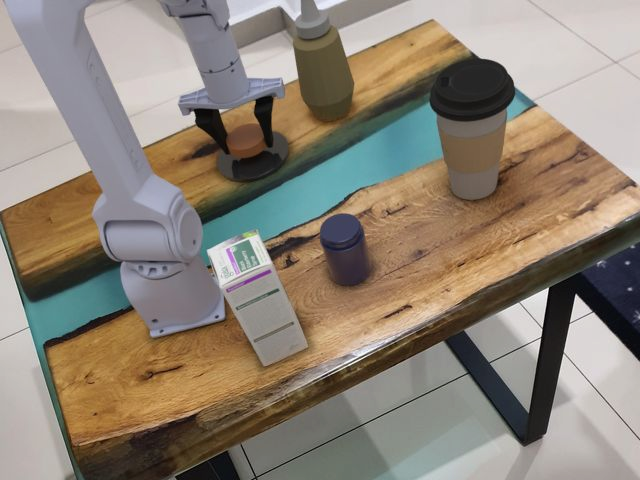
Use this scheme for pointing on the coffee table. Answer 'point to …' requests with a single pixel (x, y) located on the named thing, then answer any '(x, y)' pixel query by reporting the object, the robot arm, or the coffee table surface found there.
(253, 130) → the jar lid
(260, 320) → the syrup box
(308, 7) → the squeeze bottle
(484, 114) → the coffee cup
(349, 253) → the jar
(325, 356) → the coffee table surface
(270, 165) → the coaster
